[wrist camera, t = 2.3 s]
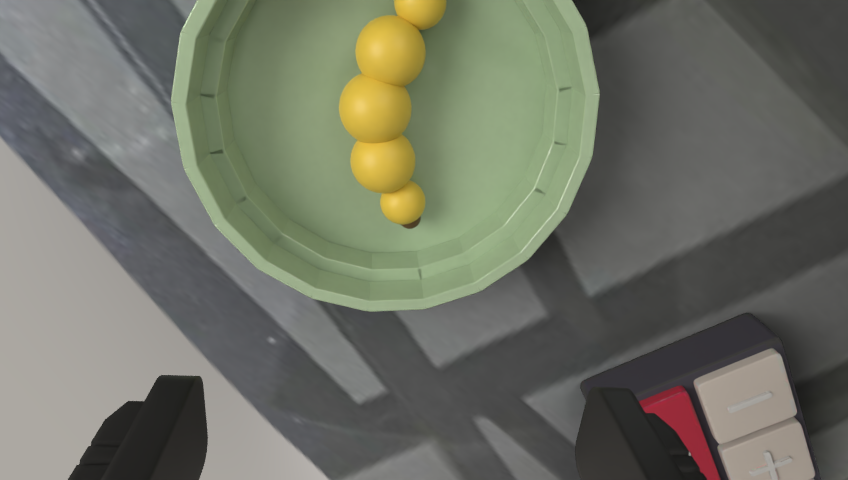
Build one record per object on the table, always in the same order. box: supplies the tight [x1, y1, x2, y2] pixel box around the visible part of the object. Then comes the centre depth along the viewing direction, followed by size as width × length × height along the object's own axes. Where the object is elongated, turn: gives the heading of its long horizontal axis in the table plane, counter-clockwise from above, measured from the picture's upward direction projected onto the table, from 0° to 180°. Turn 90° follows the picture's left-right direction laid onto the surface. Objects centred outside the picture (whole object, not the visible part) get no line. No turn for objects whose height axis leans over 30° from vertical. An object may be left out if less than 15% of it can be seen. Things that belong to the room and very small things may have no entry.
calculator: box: [580, 313, 821, 480], centre depth 36 cm, size 11×4×15 cm
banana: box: [339, 0, 446, 229], centre depth 26 cm, size 12×4×3 cm, turn 174°
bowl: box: [171, 0, 600, 312], centre depth 26 cm, size 17×17×4 cm
